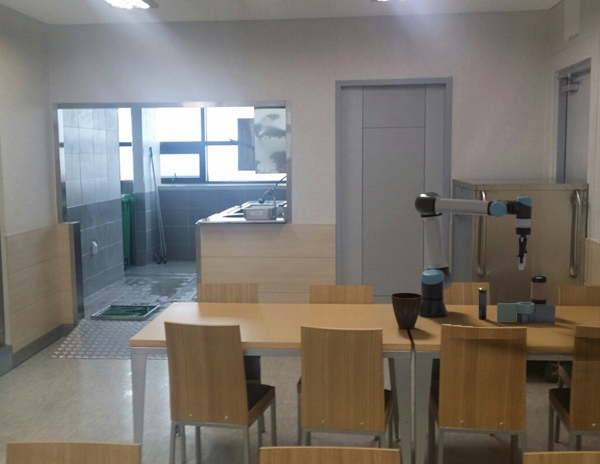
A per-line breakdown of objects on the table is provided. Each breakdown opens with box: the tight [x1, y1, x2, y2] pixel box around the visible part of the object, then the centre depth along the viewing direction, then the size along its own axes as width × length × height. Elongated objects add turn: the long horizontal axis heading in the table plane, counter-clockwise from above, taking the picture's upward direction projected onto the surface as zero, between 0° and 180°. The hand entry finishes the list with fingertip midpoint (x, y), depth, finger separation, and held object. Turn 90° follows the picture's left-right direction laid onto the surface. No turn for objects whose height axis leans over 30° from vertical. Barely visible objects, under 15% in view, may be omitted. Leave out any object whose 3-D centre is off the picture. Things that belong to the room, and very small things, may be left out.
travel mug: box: [530, 275, 548, 305], centre depth 354 cm, size 8×8×20 cm
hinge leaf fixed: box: [516, 304, 557, 325], centre depth 337 cm, size 18×8×9 cm, turn 67°
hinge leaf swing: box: [496, 301, 535, 323], centre depth 339 cm, size 18×8×9 cm, turn 87°
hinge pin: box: [477, 286, 489, 321], centre depth 347 cm, size 5×5×16 cm
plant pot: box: [390, 292, 422, 330], centre depth 331 cm, size 15×15×16 cm
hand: (522, 267), depth 348 cm, fingers open, 13 cm apart
